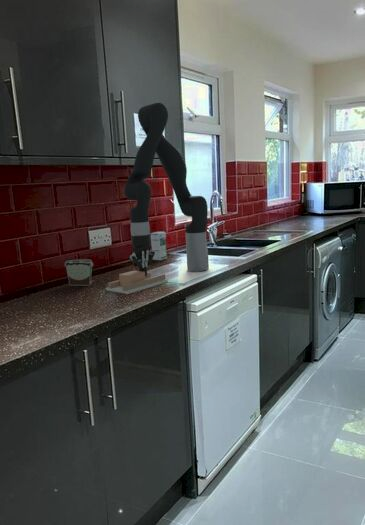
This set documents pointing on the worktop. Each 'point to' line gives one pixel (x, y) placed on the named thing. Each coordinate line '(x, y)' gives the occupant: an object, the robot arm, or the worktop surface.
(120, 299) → the worktop surface
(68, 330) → the worktop surface
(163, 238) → the white pill bottle
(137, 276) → the block
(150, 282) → the chute
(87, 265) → the food container
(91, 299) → the worktop surface
